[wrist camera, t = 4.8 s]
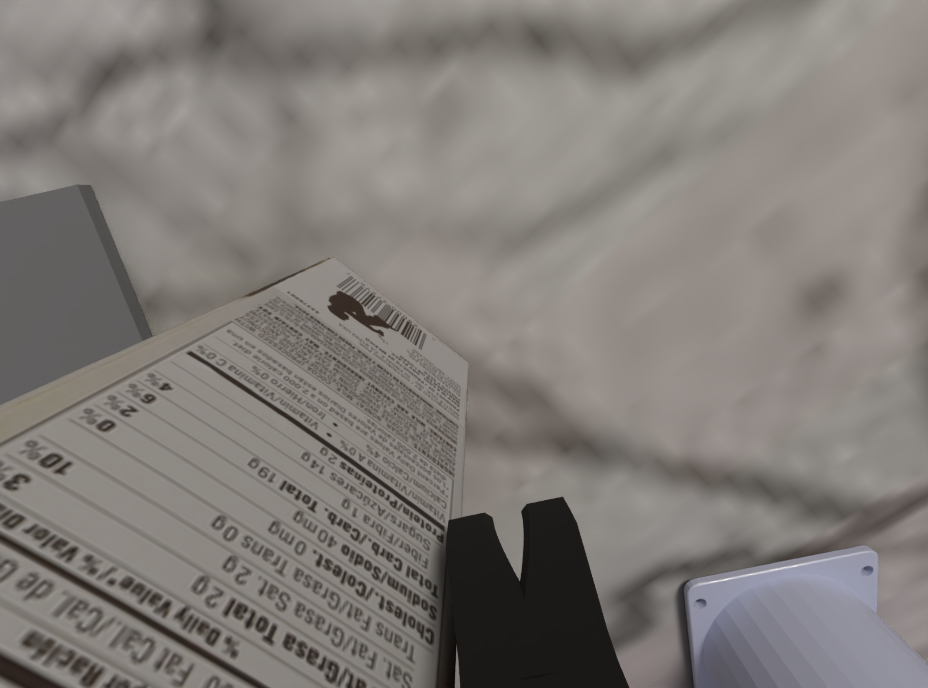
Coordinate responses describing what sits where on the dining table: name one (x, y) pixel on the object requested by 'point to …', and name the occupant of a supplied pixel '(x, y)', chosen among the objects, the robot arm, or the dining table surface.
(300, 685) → the coffee box
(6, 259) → the mat
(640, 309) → the dining table surface
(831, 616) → the robot arm
